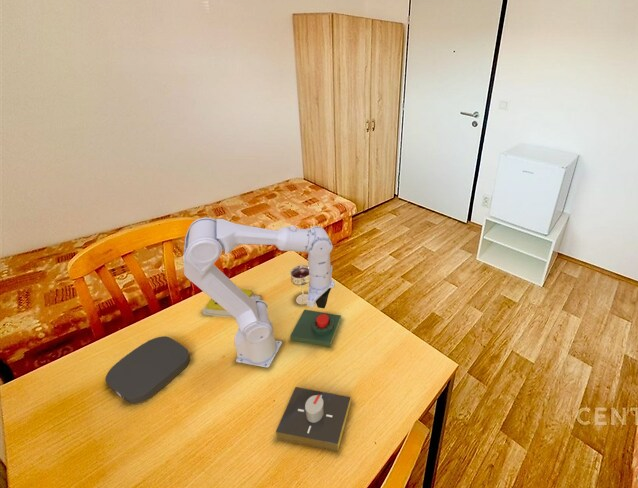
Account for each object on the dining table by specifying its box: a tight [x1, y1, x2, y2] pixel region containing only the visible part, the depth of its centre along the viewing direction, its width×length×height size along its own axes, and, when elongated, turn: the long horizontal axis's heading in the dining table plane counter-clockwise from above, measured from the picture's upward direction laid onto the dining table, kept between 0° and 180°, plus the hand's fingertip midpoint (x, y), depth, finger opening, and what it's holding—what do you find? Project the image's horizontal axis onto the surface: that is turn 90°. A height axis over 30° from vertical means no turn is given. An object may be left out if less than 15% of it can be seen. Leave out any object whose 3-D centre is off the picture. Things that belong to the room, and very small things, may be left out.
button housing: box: [290, 309, 342, 348], centre depth 96 cm, size 12×10×4 cm
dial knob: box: [305, 395, 324, 423], centre depth 72 cm, size 4×4×4 cm
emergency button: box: [201, 288, 262, 319], centre depth 102 cm, size 9×4×15 cm
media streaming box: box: [105, 336, 191, 405], centre depth 81 cm, size 15×15×3 cm
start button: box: [316, 314, 329, 328], centre depth 94 cm, size 4×4×2 cm
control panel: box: [275, 386, 352, 452], centre depth 73 cm, size 14×10×3 cm
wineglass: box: [289, 264, 310, 305], centre depth 105 cm, size 7×7×12 cm
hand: (321, 306), depth 92 cm, fingers closed
